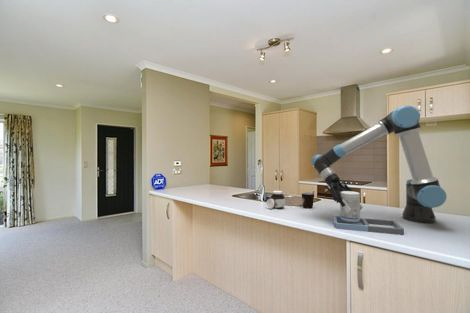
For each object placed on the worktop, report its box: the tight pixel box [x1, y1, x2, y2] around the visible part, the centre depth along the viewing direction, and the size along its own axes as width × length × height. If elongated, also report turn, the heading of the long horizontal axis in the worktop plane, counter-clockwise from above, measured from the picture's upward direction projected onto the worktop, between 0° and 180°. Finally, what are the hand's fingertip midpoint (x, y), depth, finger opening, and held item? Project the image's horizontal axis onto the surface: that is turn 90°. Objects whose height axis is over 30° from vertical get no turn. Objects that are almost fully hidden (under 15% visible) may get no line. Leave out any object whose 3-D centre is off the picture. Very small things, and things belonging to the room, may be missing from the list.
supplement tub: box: [339, 190, 361, 223], centre depth 127 cm, size 10×10×15 cm
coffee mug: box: [301, 192, 315, 210], centre depth 170 cm, size 12×9×10 cm
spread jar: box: [265, 190, 286, 210], centre depth 167 cm, size 12×11×12 cm
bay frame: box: [332, 215, 405, 236], centre depth 125 cm, size 30×16×2 cm, turn 70°
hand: (355, 210), depth 125 cm, fingers closed on supplement tub, 9 cm apart
